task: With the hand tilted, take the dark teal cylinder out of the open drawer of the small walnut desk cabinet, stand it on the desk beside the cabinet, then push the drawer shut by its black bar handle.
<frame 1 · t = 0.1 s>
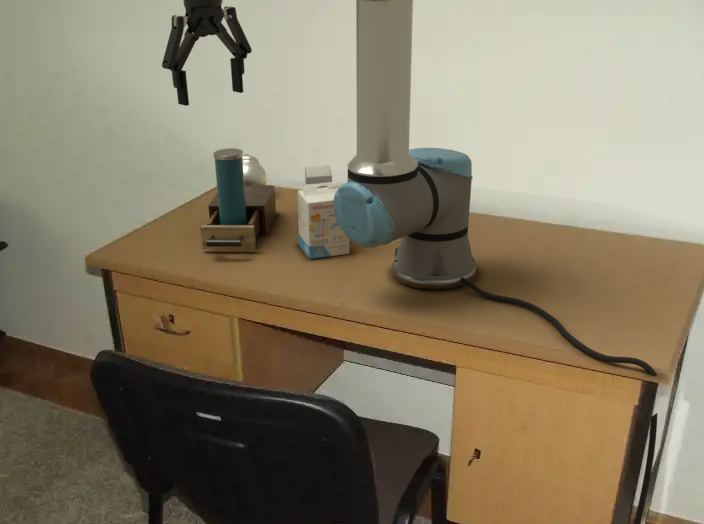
hand: (211, 98, 178), 28 cm above the table, tool pointing down, fingers open, 13 cm apart
drawer: (231, 230, 182), point 3 cm above the table, slide at 9.0 cm, touching dark teal cylinder
ink box: (324, 250, 179), on the table
cabinet: (244, 224, 194), on the table
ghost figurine: (249, 197, 210), on the table
dark teal cylinder: (234, 232, 184), point 2 cm above the table, touching drawer
small box: (319, 218, 195), on the table
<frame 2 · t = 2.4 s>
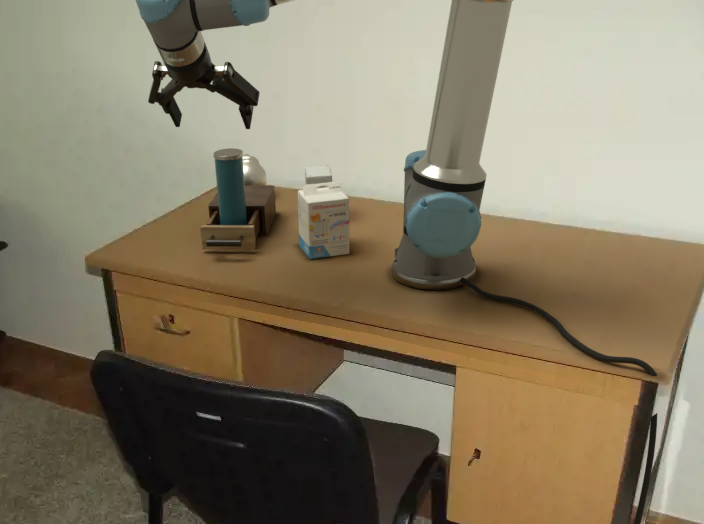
hand: (213, 121, 163), 27 cm above the table, tool tilted 45°, fingers open, 13 cm apart
nothing on the table moved.
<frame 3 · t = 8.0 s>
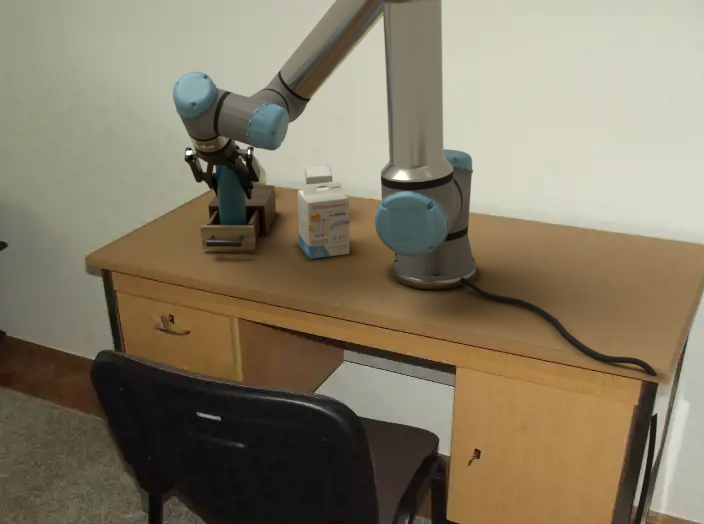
hand: (235, 193, 184), 9 cm above the table, tool tilted 45°, fingers closed on dark teal cylinder, 6 cm apart
dark teal cylinder: (234, 232, 184), point 2 cm above the table, touching drawer, gripper
everything else where it was.
when the fingers open (7 cm above the table, at t = 16.9 s): dark teal cylinder stays where it is, on the table.
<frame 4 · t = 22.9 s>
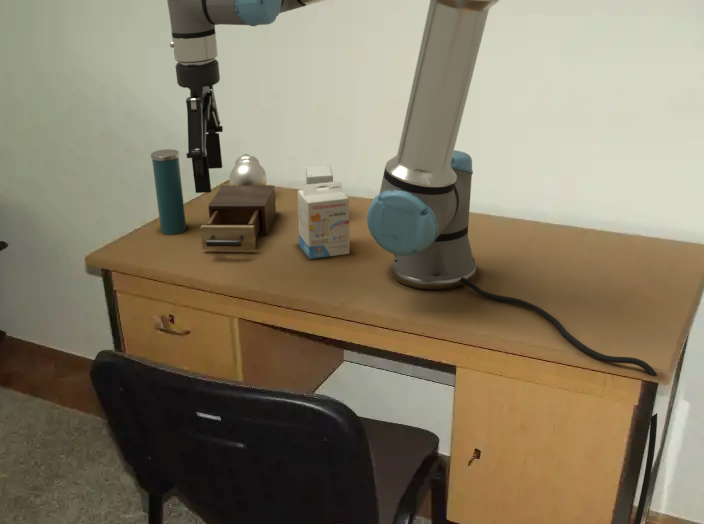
hand: (209, 179, 163), 18 cm above the table, tool pointing down, fingers open, 13 cm apart
drawer: (231, 230, 182), point 3 cm above the table, slide at 9.0 cm
dark teal cylinder: (173, 229, 194), on the table
everything else where it was.
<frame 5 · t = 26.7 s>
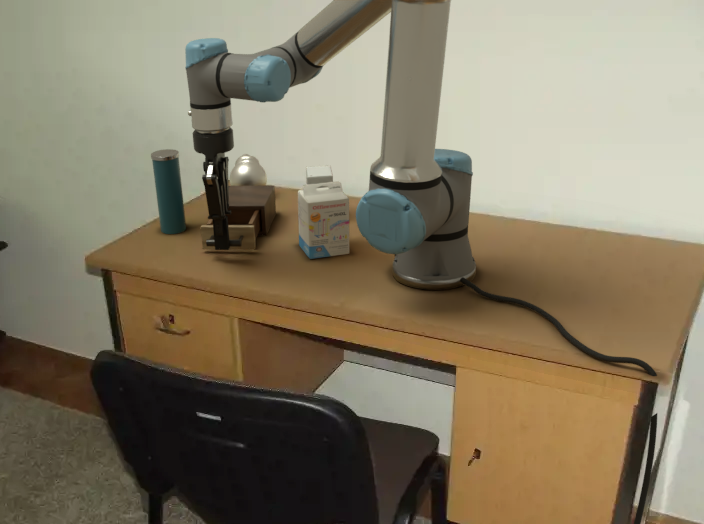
hand: (222, 248, 174), 3 cm above the table, tool pointing down, fingers closed
drawer: (231, 230, 182), point 3 cm above the table, slide at 9.0 cm, touching gripper
everything else where it was.
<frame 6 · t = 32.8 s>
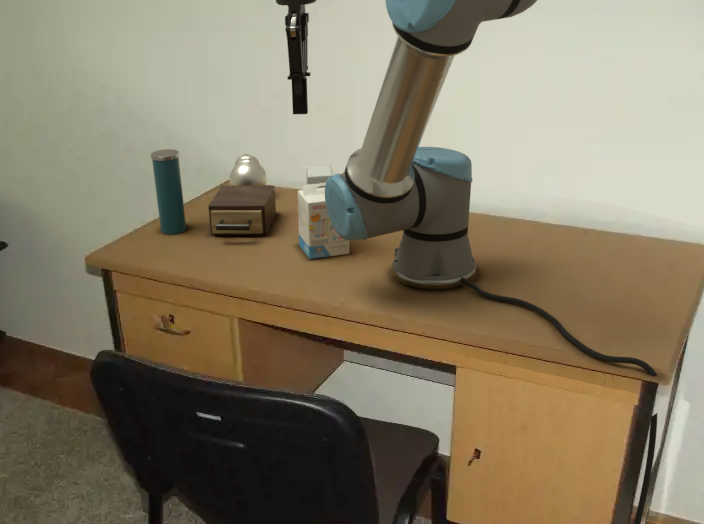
hand: (300, 113, 169), 26 cm above the table, tool pointing down, fingers closed
drawer: (239, 215, 189), point 3 cm above the table, slide at 0.0 cm, touching cabinet
everything else where it was.
at the end: dark teal cylinder inside the target area (0.1 cm from its centre), on the table; dark teal cylinder tilted 0°; drawer slide at 0.0 cm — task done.
